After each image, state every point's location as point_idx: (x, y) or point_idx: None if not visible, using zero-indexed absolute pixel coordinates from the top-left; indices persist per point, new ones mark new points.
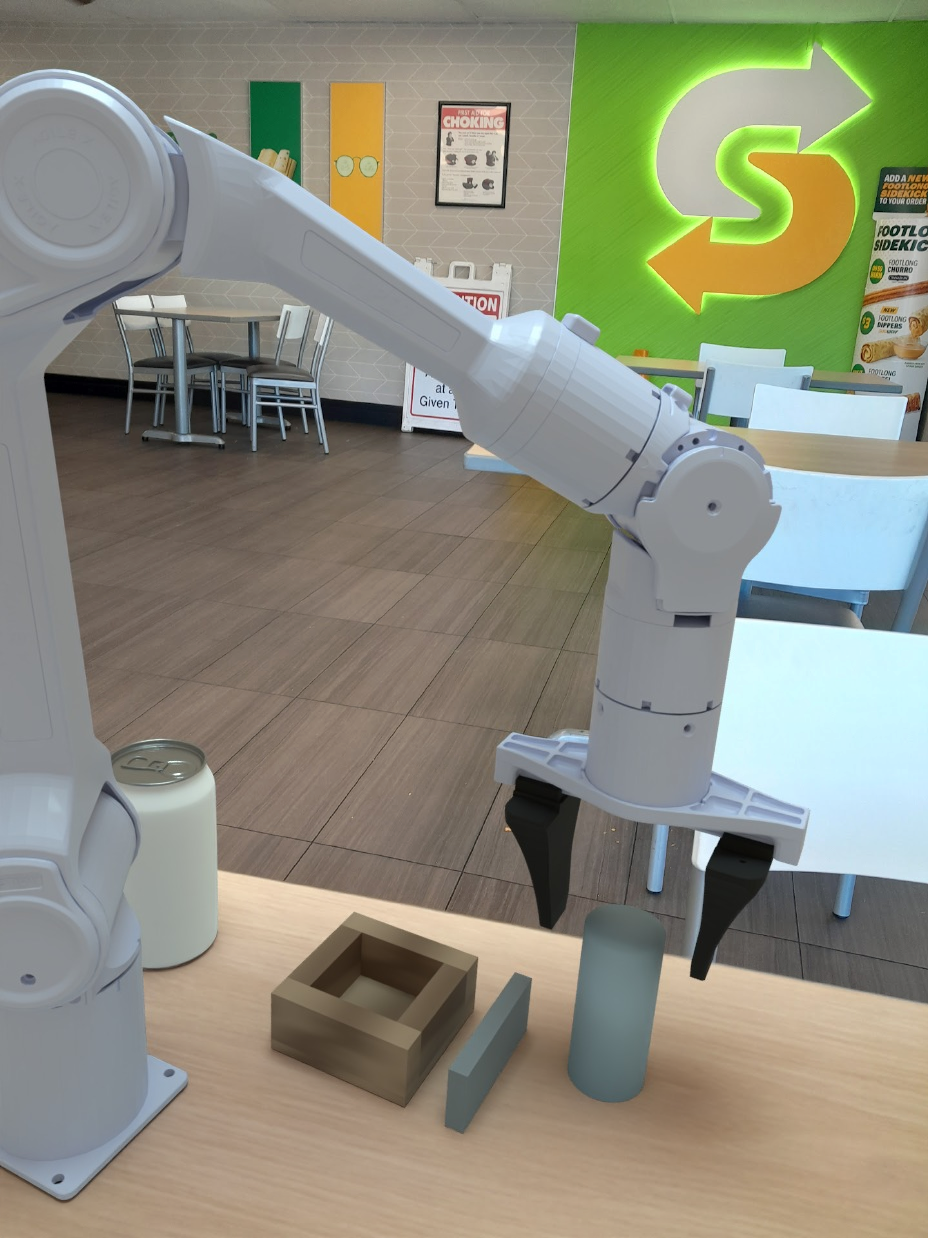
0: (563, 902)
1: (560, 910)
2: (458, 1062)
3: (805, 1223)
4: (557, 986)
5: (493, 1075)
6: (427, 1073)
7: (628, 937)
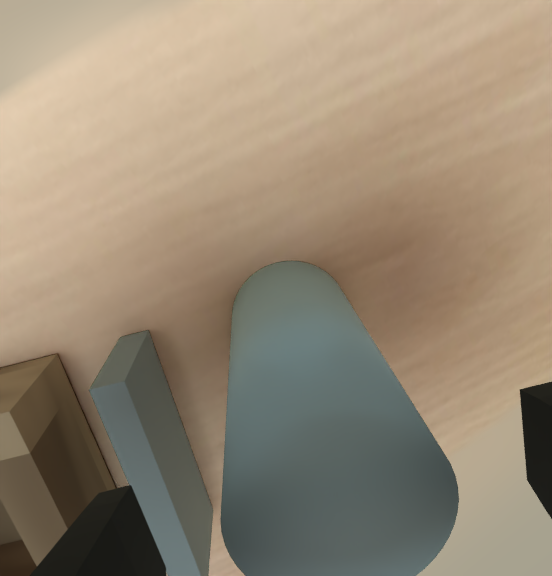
0: (131, 537)
1: (140, 539)
2: None
3: None
4: (109, 204)
5: (185, 450)
6: (112, 485)
7: (367, 537)
